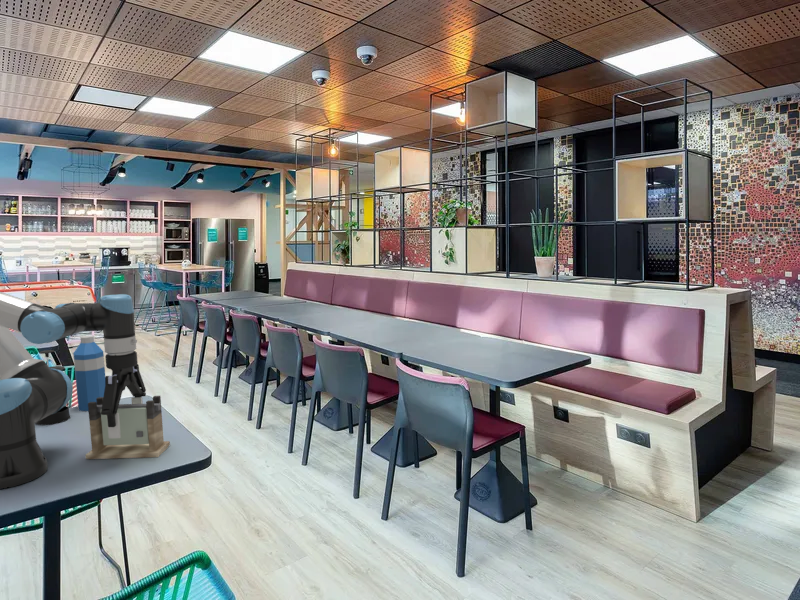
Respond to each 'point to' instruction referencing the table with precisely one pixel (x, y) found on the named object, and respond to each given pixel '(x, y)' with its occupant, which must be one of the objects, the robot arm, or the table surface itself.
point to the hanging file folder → (129, 424)
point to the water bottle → (89, 372)
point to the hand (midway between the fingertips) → (127, 428)
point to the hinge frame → (127, 451)
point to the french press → (63, 412)
